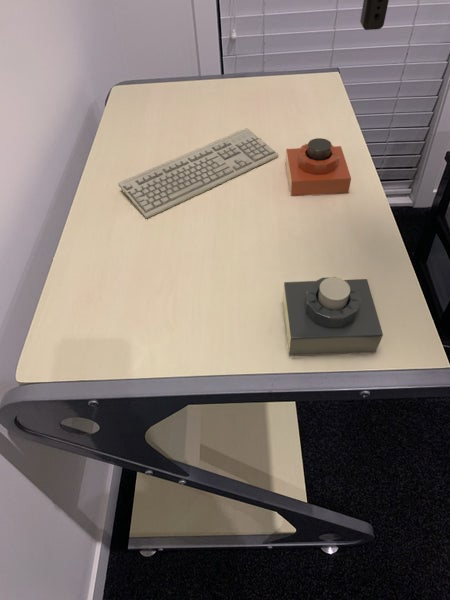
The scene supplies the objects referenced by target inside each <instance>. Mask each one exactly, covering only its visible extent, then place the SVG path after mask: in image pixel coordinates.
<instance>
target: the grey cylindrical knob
mask: <svg viewBox="0 0 450 600" xmlns="http://www.w3.org/2000/svg"><path fill="white" fill-rule="evenodd" d="M330 277H331V278H327V277H326V278H327V279H325V280H323V281H322V282H321V284H320V288H319V293H318V301H319V303H320V304H321V305H322V306H323V307H324V308H326V309H329V310H340V309H342V308H344V307H345V306H346V304H347V302H348V298H349V294H350V286H349V285H348V283H347V282H346V281H344V280H345V279H343V278H340V277H337V278H336V276H330Z"/></svg>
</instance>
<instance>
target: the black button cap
mask: <svg viewBox="0 0 450 600" xmlns="http://www.w3.org/2000/svg"><path fill="white" fill-rule="evenodd" d="M307 144H308V148H307V157H308V158H310V159H312V160H316V161H321V160H326V159H329V157H330V154H331V147H332V145H333V143H332V142H331V141H330V140H328V139H326V138H321V137H320V138H319V137H318V138H317V137H316V138H313V139H310V140H309V141H308V143H307Z"/></svg>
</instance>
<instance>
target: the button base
mask: <svg viewBox="0 0 450 600" xmlns="http://www.w3.org/2000/svg"><path fill="white" fill-rule="evenodd" d="M307 148H308V143H305V144H303V145H302V146H301V147H298V148H297V147H296V148H286V149H285V169H286V175H287V181H288V186H289V193H290V196H291V197H293V196H311V195H312V196H314V195H315V196H317V195H333V194H335V195H336V194H349V191H350V187H351V183H352V177H351V174H350V171H349V170H350V169H349V166H348V163H347V161H346V158H345V155H344V152H343V148H342V146H341V145H336V146H334V145H333V144H332V147H331V154H330V157H329V159H326V160H321V161H316V160H312V159H310V158H308V157H307Z"/></svg>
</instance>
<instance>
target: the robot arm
mask: <svg viewBox="0 0 450 600" xmlns="http://www.w3.org/2000/svg"><path fill="white" fill-rule="evenodd" d="M389 1H390V0H363V2H362V8H361V13H360V14H361V15H360V20H359V22H360V24H361V27H362V28H363V29H364V30H365V31H372V30H380V29H382V28H383V27H384V25H385V20H386V16H387V15H386V14H387V12H388V7H389Z"/></svg>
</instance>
